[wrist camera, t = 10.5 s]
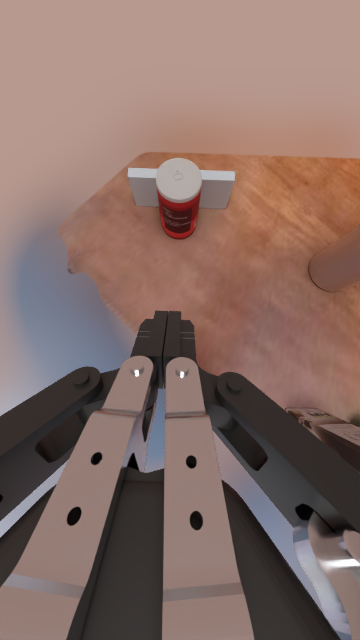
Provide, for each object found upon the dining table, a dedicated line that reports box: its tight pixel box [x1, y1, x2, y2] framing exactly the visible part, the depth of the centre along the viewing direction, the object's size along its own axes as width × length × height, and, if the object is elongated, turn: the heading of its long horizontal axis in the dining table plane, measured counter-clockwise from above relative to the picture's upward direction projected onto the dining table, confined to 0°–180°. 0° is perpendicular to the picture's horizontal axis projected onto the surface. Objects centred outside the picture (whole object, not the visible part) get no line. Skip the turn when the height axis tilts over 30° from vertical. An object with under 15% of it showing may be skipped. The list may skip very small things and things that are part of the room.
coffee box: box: [285, 408, 360, 472], centre depth 26 cm, size 9×6×16 cm
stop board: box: [128, 168, 235, 209], centre depth 38 cm, size 20×7×7 cm, turn 88°
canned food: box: [156, 158, 202, 239], centre depth 35 cm, size 8×8×11 cm
